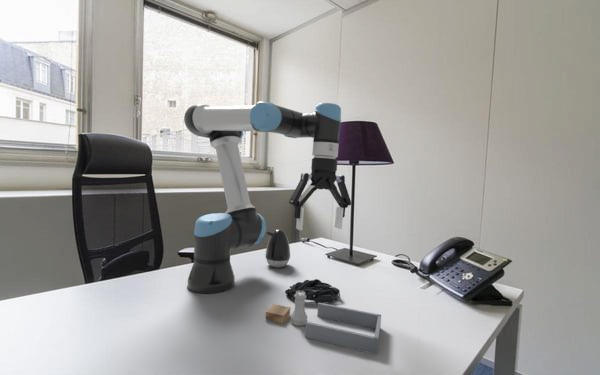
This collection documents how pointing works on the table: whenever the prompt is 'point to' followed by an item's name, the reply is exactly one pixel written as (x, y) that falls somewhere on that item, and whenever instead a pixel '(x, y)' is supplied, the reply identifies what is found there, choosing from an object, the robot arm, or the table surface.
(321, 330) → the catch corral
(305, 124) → the robot arm
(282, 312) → the walnut tile
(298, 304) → the rook chess piece
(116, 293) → the table surface
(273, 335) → the table surface
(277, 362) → the table surface
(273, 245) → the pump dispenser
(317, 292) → the cable
